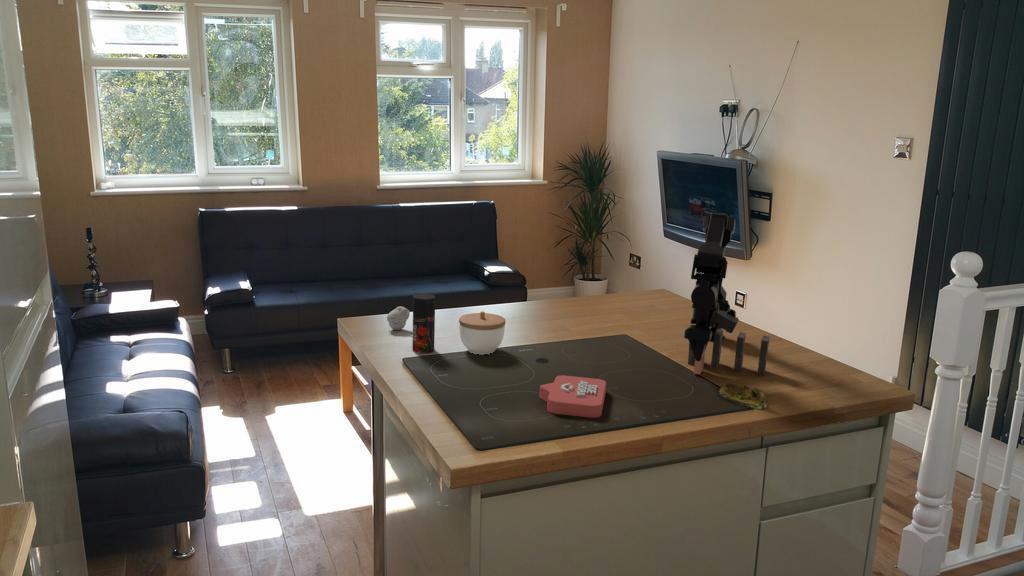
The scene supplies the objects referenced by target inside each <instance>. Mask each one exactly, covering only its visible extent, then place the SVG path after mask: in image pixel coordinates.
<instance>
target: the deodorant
mask: <svg viewBox="0 0 1024 576" xmlns="http://www.w3.org/2000/svg"><path fill="white" fill-rule="evenodd" d="M435 323H436V295H434V294H431V293H418V294H417V293H416V294H414V295H412V352H415V353H418V354H429V353H433V352H434V351H435V334H436V332H435V331H436V330H435V325H436V324H435Z"/></svg>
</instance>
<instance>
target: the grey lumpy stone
mask: <svg viewBox="0 0 1024 576" xmlns="http://www.w3.org/2000/svg"><path fill="white" fill-rule="evenodd" d="M410 313H411V312H410V310H409V309H408V308H406V307H404V306H397V307H395V309H393V310H392V311H389V313H388V314H387V316H386V320H387V322H388V325H389V327H390V328H391V330H395V331H401V330H403V329H404V328H405V326H406V324H407V323H406V322H407V320H409V317H410Z"/></svg>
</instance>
